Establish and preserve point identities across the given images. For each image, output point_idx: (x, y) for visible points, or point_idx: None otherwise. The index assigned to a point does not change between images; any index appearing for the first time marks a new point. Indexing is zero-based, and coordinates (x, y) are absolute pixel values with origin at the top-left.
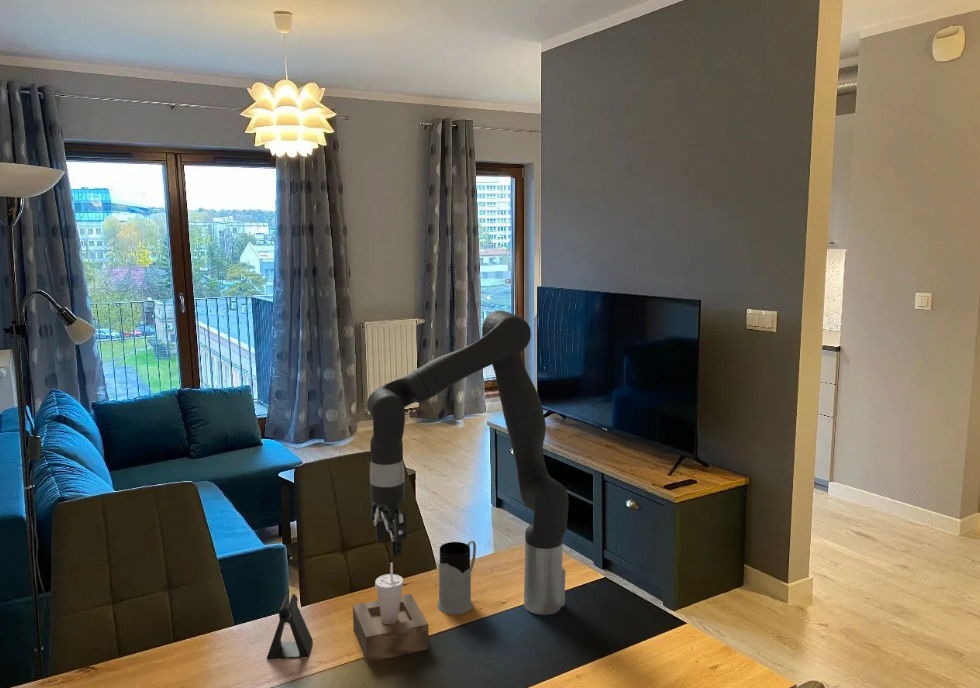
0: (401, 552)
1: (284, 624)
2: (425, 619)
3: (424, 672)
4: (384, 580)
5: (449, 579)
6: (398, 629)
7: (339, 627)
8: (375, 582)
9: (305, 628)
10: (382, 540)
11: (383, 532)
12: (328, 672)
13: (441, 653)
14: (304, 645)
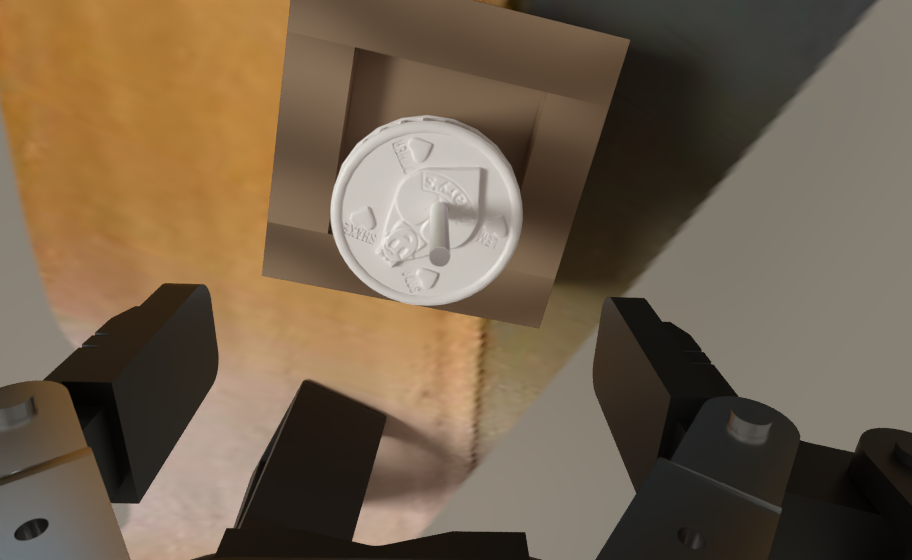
0: (683, 332)
1: (250, 497)
2: (582, 29)
3: (712, 134)
4: (413, 249)
5: None
6: (575, 191)
7: (255, 273)
8: (396, 299)
9: (298, 440)
10: (210, 321)
11: (169, 359)
12: (497, 394)
13: (659, 4)
14: (373, 450)
